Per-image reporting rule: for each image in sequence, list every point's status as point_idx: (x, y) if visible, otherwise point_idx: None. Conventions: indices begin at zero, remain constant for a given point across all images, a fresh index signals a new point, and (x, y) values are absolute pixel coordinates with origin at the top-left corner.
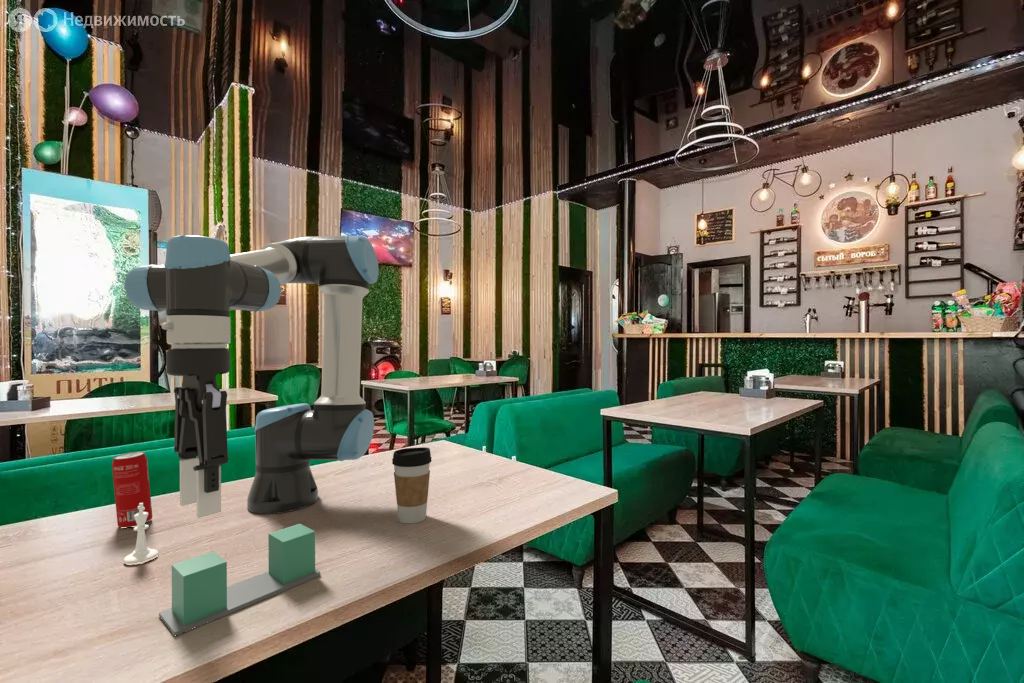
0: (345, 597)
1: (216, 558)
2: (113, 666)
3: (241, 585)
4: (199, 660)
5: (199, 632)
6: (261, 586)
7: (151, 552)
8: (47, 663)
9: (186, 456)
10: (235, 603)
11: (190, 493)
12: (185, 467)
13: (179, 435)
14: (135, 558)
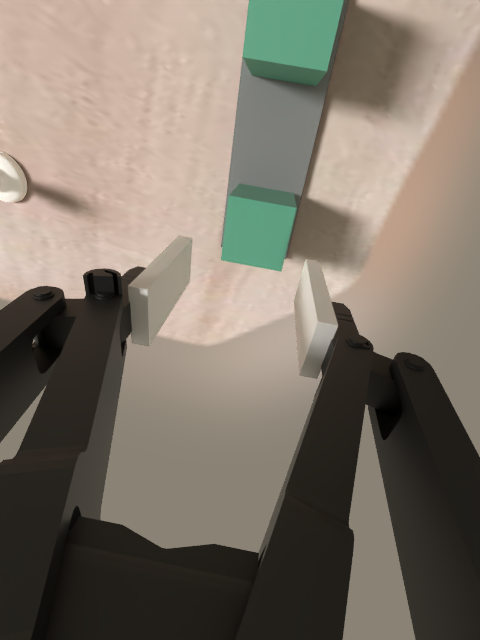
0: (471, 28)
1: (265, 209)
2: (280, 307)
3: (248, 137)
4: (357, 265)
5: (304, 237)
6: (285, 118)
7: (2, 166)
8: (218, 330)
9: (128, 333)
10: (293, 178)
11: (183, 275)
12: (158, 323)
13: (38, 386)
14: (13, 192)
